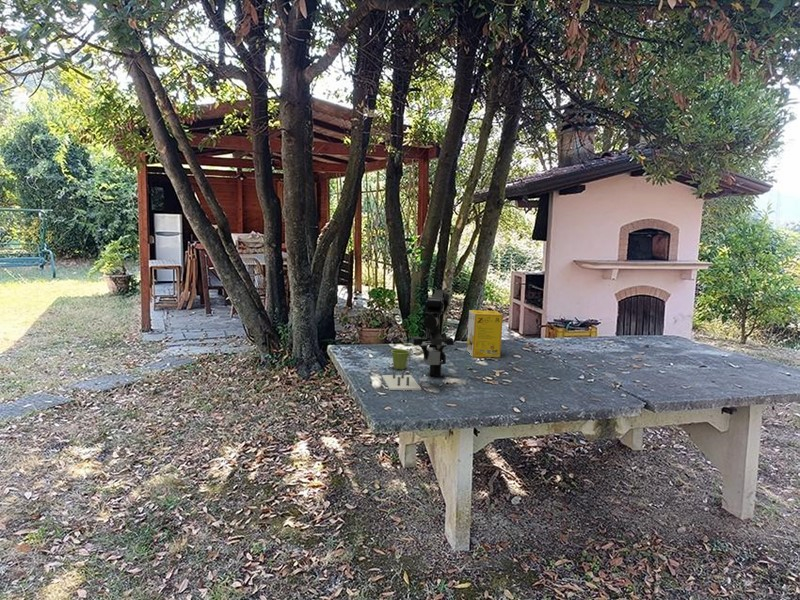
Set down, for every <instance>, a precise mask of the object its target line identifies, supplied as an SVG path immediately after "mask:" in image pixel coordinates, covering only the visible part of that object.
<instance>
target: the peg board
mask: <svg viewBox="0 0 800 600" xmlns="http://www.w3.org/2000/svg"><path fill="white" fill-rule="evenodd" d="M396 371H397V370H396V369H394V370H392V374H382V375H381V379H382V378H383V379H382V380H383V382H384V381H385V382H384V384H385V383H386V384H385V386H386V387H387V386H388V387H387V389H388V388H389V389H388V390H389V391H390V390H403V392H404V391H405V390H406V391H407V390H412V391H422V387H421V386H420V385H419V383H418V382H417V381H416V380H415V378H414V377H413V376H412V374H405V369H401V374H396Z"/></svg>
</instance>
